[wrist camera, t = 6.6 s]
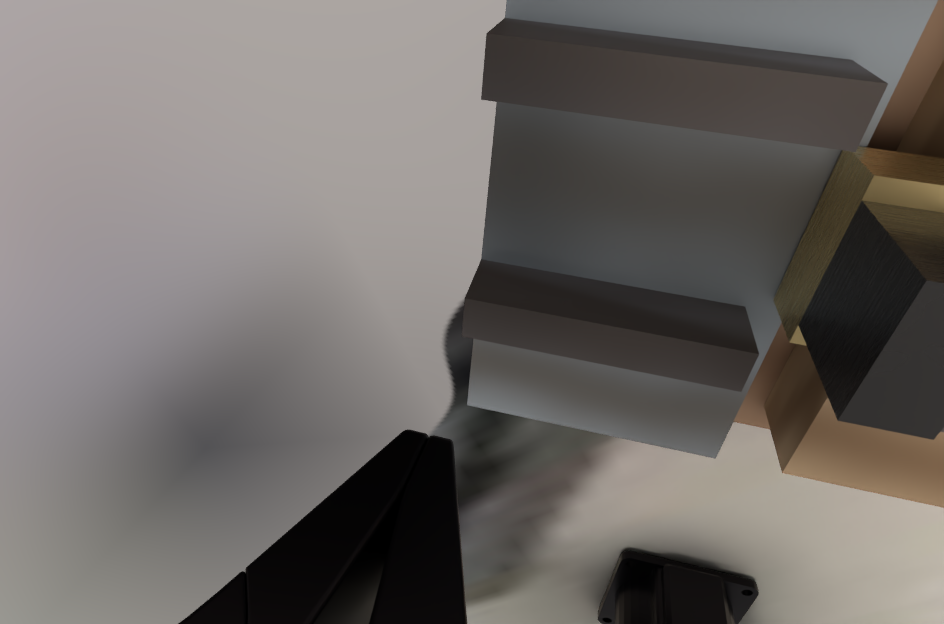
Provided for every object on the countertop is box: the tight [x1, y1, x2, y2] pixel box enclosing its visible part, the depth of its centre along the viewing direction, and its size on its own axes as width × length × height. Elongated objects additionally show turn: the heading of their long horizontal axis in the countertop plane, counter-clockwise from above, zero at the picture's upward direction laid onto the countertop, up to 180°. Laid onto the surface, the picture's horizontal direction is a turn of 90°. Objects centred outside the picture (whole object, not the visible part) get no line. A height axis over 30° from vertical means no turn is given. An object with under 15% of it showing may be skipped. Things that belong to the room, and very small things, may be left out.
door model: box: [462, 0, 944, 508], centre depth 14 cm, size 18×16×6 cm
